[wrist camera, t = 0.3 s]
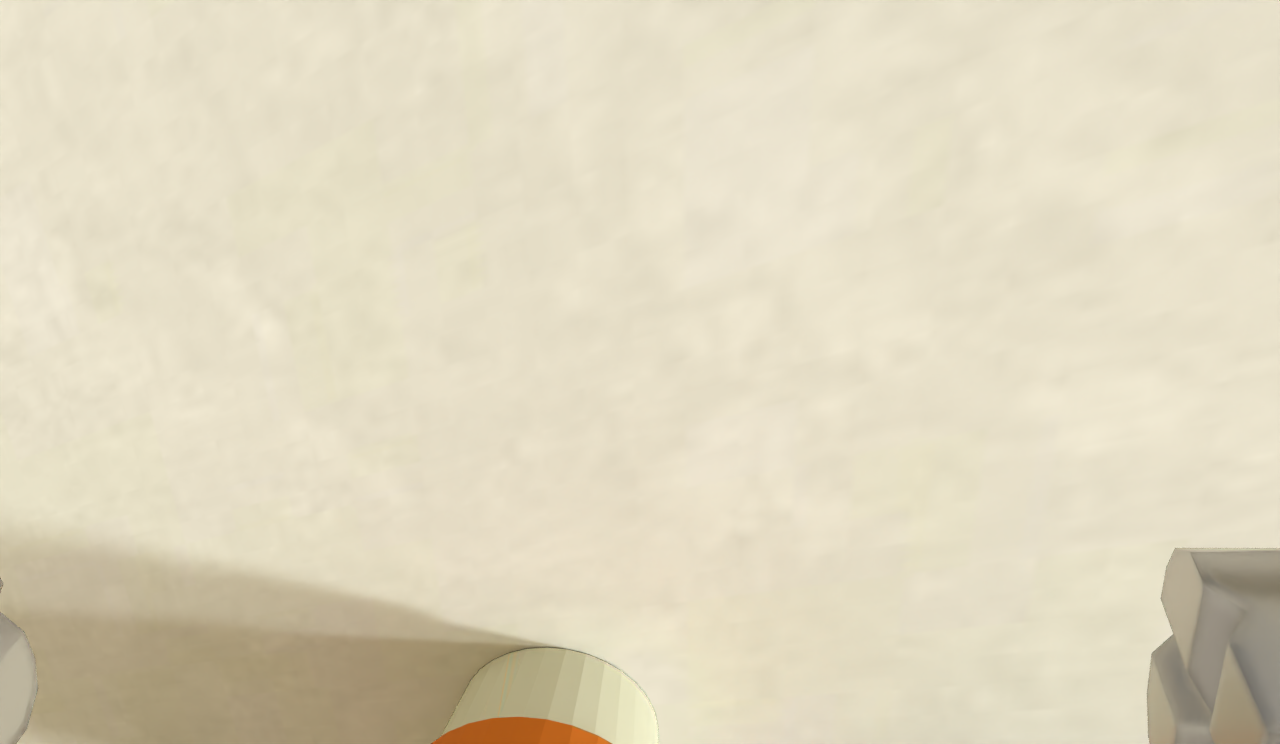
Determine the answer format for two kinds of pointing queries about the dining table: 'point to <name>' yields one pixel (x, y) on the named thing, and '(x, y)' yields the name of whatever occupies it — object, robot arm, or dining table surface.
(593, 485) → the dining table surface
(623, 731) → the reusable coffee cup
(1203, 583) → the robot arm
